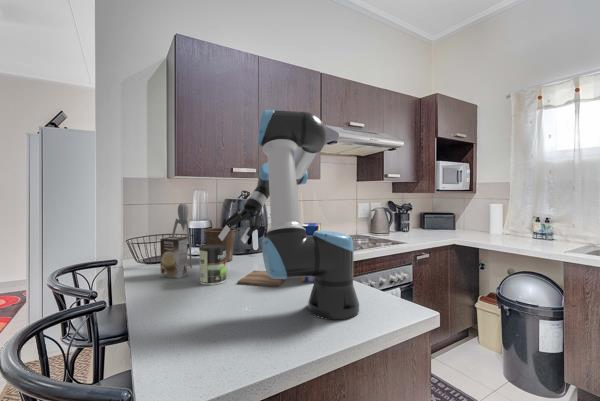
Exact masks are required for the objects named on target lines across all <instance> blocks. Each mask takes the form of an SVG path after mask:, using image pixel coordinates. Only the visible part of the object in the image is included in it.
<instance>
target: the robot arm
mask: <svg viewBox="0 0 600 401" xmlns="http://www.w3.org/2000/svg"><path fill="white" fill-rule="evenodd" d="M257 132H258V134H257V144H256V145H257V146H258V147H261V148H262V152H263V154H264V155H265V156H267V162H264V163H262V164H261V166H260V167H259V170H258V179H257V185H256V187H255V189H253V191H252V193H251V194H250V196H249V197H248V199H247V200H246V202H245V203H244V208H243V209H242V210H240V208H237V210H236V211H235V212H234V213H233V214H232V215H231V216H229V217H228V218H227V219H226V220H225V221H223V223H222V225H223V226H224V227H222V228H223V230H222V232H221V233H220V235H219V236H218V237H219V238H220V240H221V241H223V239H224V238H225V236H226V235H227V234H228V232H229V231H230V228H233V226H236V224H238V223H240V222H242V221H248V222H249V227H247V228H246V230H245V232H244V234H242V236H241V238H240V241H241V242H242V243H243V244H244V245H245V244H246V243H247V241H248V240H249V239H250V237H252V235H253V233H254V232H255V231H256V230H257V231H259V230H260V227H261V220H262V216H263V213H262V211H261V210H262V209H263V207H264V206H265V204H266V202H267V201H268V199H269V208H270V209H269V210H270V225H271V226H270V228H269V229H268V230H267V231H266V237H263V238H262V239H261V248H262V249H261V250H262V258H263V264H264V268H265V271H266V272H267V274H268V276H269V277H270V278H272V279H285V280H288V279H296V278H297V279H299V278H300V279H301V277H314V282H313V284H312V285H313V286H312V289H311V291H310V294H309V298H308V301H307V305H308V307H307V308H308V309H309V310H308V311H310V312H311V313H310V312H309V313H310V314H311V315H313V314H314V315H313V316H315V315H316V316H315V317H317V316H319V317H318V318H321V317H323V318H322V319H325V318H327V319H326V320H335V319H338V320H346V318H347V319H351V318H353V316H354V317H356V316H357V315H358V314H359V313H360V302H359V299H358V295H357V292H356V289H355V286H354V252H355V249H354V240H353V238H352V236H350V235H349V234H346V233H341V232H337V231H336V232H335V231H330V230H329V231H328V230H321V231H315V232H314V234H313V235H314V236H306V229H305V228H304V227H302V224H301V219H300V208H299V195H298V186H300V185H306V184H307V183H308V178H309V176H308V175H309V174H308V169H309V168H310V165H311V164H312V163H313V160H314V159H315V157H316V155H317V154H318V153H320V152H321V151H322V150H323V148H324V147H325V145H326V142H327V130H326V127H325V125H324V123H323V121H322V120H321V119H320V118H319V116H317V115H315V114H313V113H311V112H309V111H296V110H295V111H293V110H292V111H290V110H276V109H265V110H262V112H261V113H260V117H259V123H258V131H257ZM358 312H359V313H358ZM355 315H356V316H355ZM350 317H351V318H350Z"/></svg>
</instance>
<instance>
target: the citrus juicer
mask: <svg viewBox="0 0 600 401" xmlns="http://www.w3.org/2000/svg"><path fill="white" fill-rule="evenodd" d="M189 211H190V210H189V205H188V204H187V203H185V202H184V203H183V202H182V203H180V204H178V207H177V216H178V218H175V220H174V225H173V229H172V234H171V237H175V234H176V230H177V227H178V224H180V225H181V228H182V230H183V232H184V230H185V228H186V231H187V242H188V249H189V268H190V269H192V268H193V263H192V262H193V261H192V260H193V259H192V244H191V235H190V234H191V233H190V227H189Z"/></svg>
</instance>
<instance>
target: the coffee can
mask: <svg viewBox="0 0 600 401" xmlns="http://www.w3.org/2000/svg"><path fill="white" fill-rule="evenodd" d="M198 249H199V283H200V284H201V285H204V286H215V285H221V284H224V283H225V282H226V281H227V262H226V245H224V244H202V245H200V246H198Z"/></svg>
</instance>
